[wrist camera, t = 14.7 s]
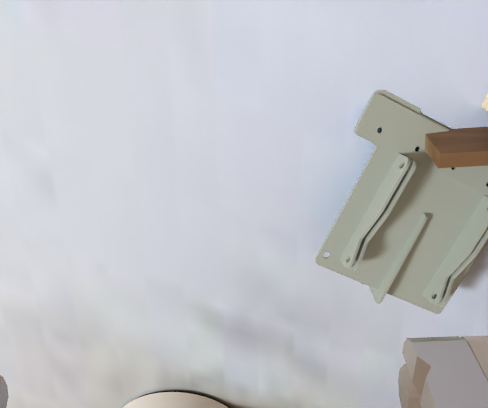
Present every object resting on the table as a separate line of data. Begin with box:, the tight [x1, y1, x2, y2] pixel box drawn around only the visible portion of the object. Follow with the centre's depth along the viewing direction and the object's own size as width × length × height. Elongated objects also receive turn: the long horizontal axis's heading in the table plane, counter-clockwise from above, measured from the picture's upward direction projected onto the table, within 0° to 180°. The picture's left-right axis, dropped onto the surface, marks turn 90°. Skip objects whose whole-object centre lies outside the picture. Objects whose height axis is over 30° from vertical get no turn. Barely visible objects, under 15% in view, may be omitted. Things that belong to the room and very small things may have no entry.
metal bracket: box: [315, 90, 488, 314], centre depth 33 cm, size 14×6×15 cm
